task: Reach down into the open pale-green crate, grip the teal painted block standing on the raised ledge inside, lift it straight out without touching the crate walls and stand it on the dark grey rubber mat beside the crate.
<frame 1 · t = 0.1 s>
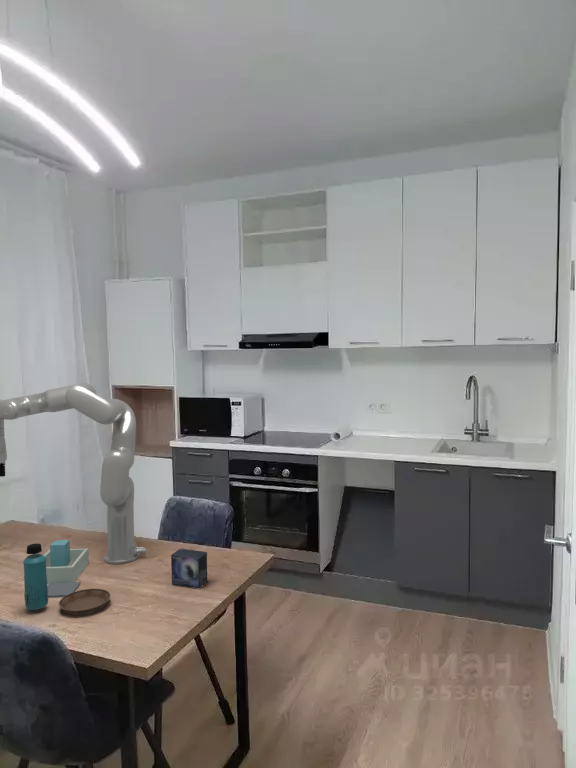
beverage bottle: (36, 610, 168), on the table
small box: (189, 584, 186), on the table
mat: (60, 590, 182), on the table
saucer: (85, 608, 170), on the table
block: (60, 565, 195), point 3 cm above the table, touching crate
crate: (61, 573, 196), on the table
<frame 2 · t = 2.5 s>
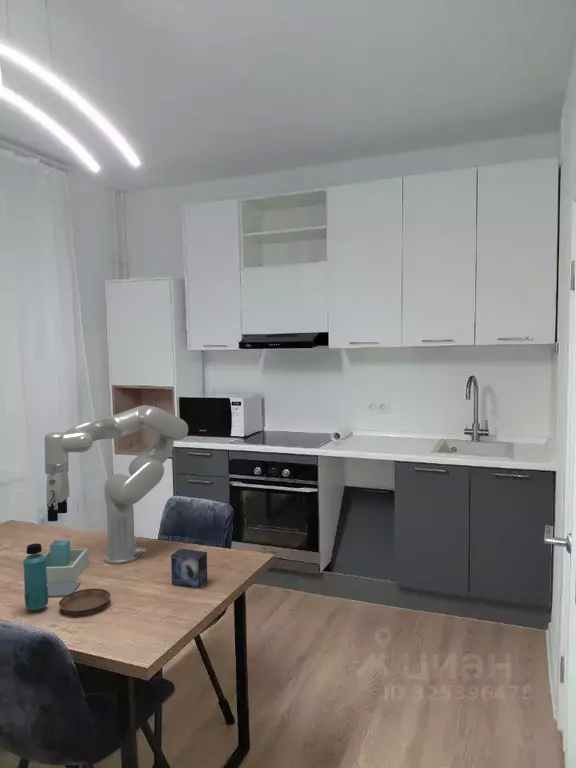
hand: (57, 516, 194), 20 cm above the table, tool pointing down, fingers open, 9 cm apart
nothing on the table moved.
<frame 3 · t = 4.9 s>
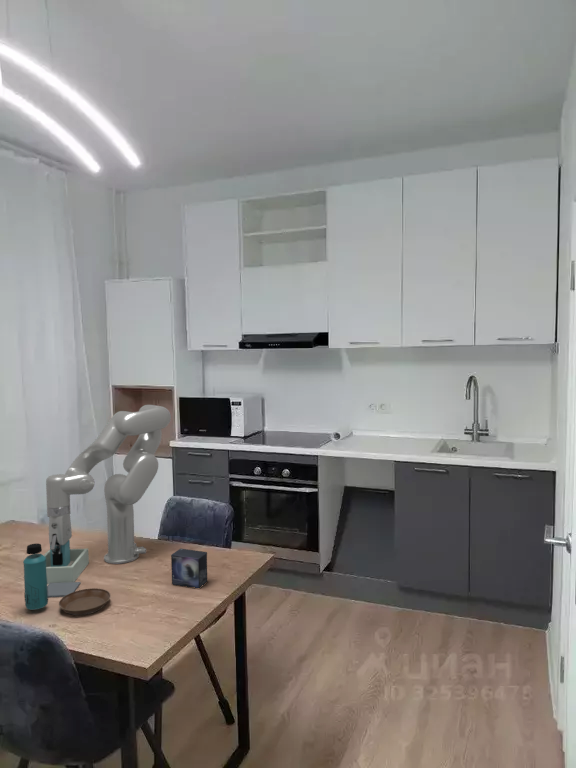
hand: (60, 561, 195), 4 cm above the table, tool pointing down, fingers closed on block, 5 cm apart
block: (60, 565, 195), point 3 cm above the table, touching crate, gripper
everything else where it was.
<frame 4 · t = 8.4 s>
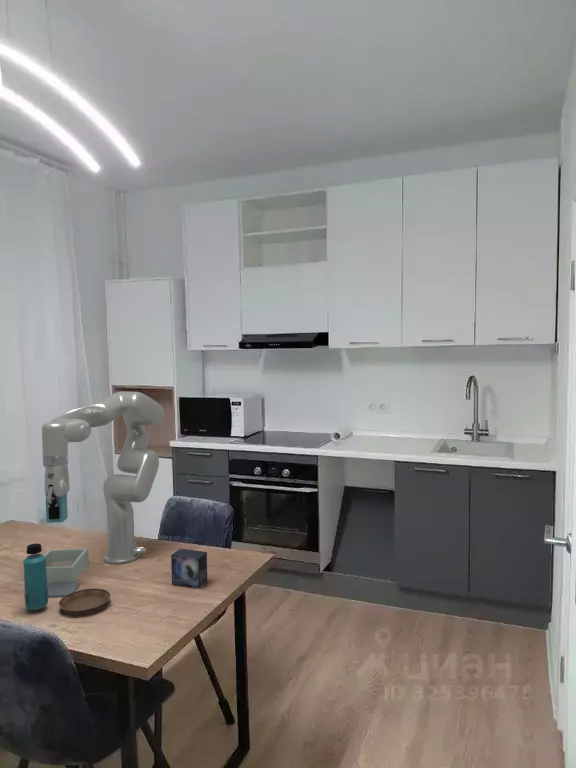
hand: (57, 515, 180), 25 cm above the table, tool pointing down, fingers closed on block, 5 cm apart
block: (57, 520, 180), point 23 cm above the table, touching gripper
everything else where it was.
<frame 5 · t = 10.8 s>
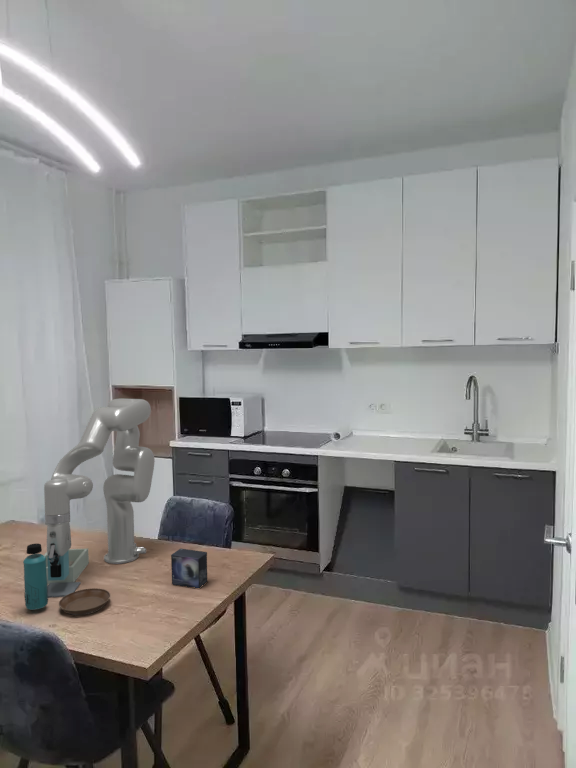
hand: (59, 573, 181), 6 cm above the table, tool pointing down, fingers closed on block, 5 cm apart
block: (58, 577, 181), point 5 cm above the table, touching gripper
everything else where it was.
when the fingers open (4 cm above the table, at t = 12.2 s): block drops 2 cm, resting on mat.
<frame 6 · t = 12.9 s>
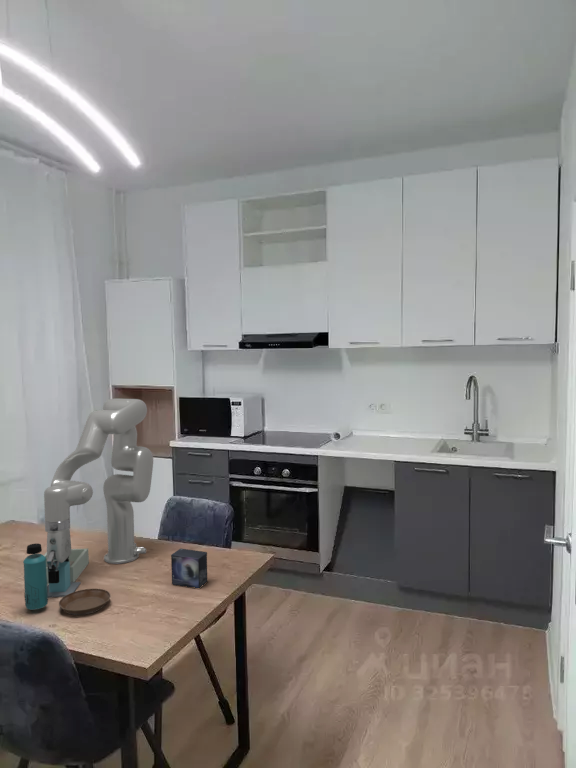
hand: (59, 576, 181), 5 cm above the table, tool pointing down, fingers open, 9 cm apart
block: (60, 588, 182), point 1 cm above the table, touching mat
everything else where it was.
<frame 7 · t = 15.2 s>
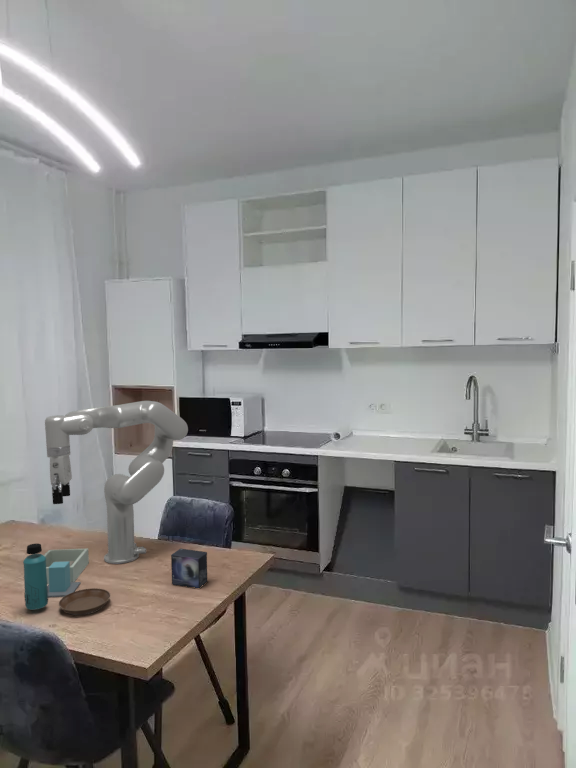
hand: (61, 499, 195), 26 cm above the table, tool pointing down, fingers open, 9 cm apart
nothing on the table moved.
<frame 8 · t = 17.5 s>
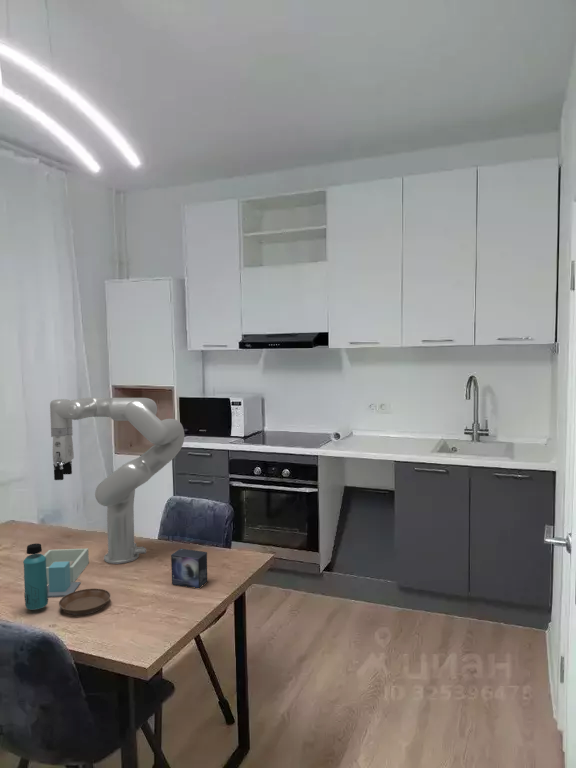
hand: (63, 477, 212), 30 cm above the table, tool pointing down, fingers open, 9 cm apart
nothing on the table moved.
at the end: block inside the target area on the mat (0.1 cm from its centre), point 0.6 cm above the mat's base; block tilted 0°; the gripper is holding nothing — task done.
